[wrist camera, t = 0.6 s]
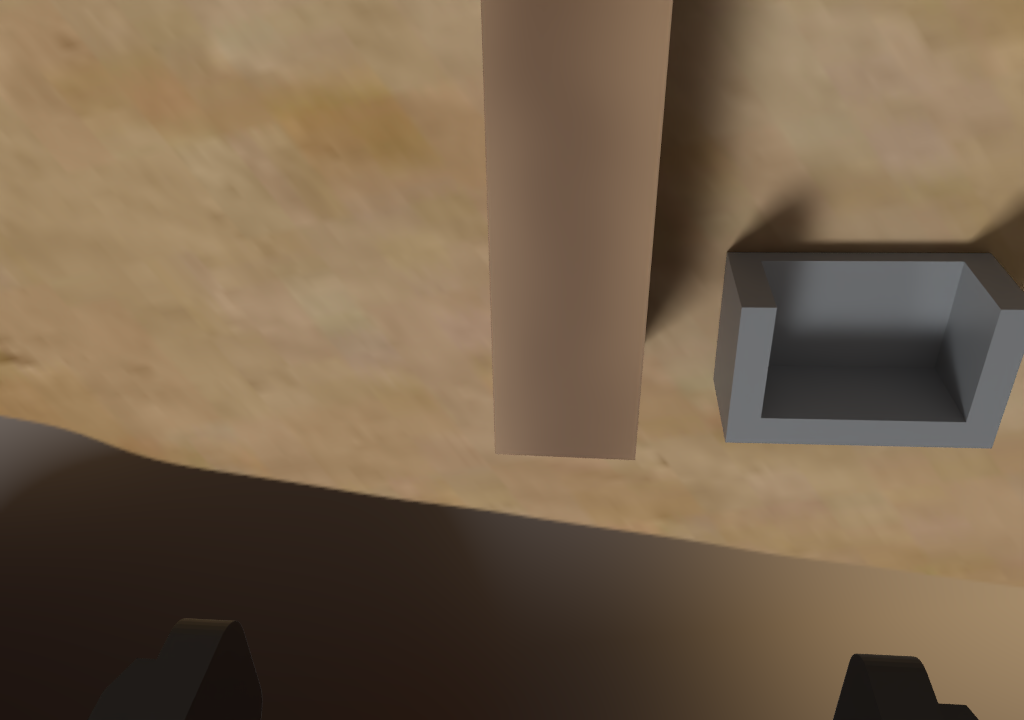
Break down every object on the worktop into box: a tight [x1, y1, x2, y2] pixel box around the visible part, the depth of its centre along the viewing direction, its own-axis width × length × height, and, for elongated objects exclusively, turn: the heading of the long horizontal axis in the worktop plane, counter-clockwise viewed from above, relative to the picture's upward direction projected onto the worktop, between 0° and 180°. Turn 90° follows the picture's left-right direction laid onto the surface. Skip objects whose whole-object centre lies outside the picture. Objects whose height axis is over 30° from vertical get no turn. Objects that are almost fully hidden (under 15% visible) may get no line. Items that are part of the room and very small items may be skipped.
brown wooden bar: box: [481, 0, 673, 460], centre depth 24 cm, size 4×16×6 cm, turn 1°
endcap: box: [714, 252, 1024, 448], centre depth 28 cm, size 8×5×4 cm, turn 93°
